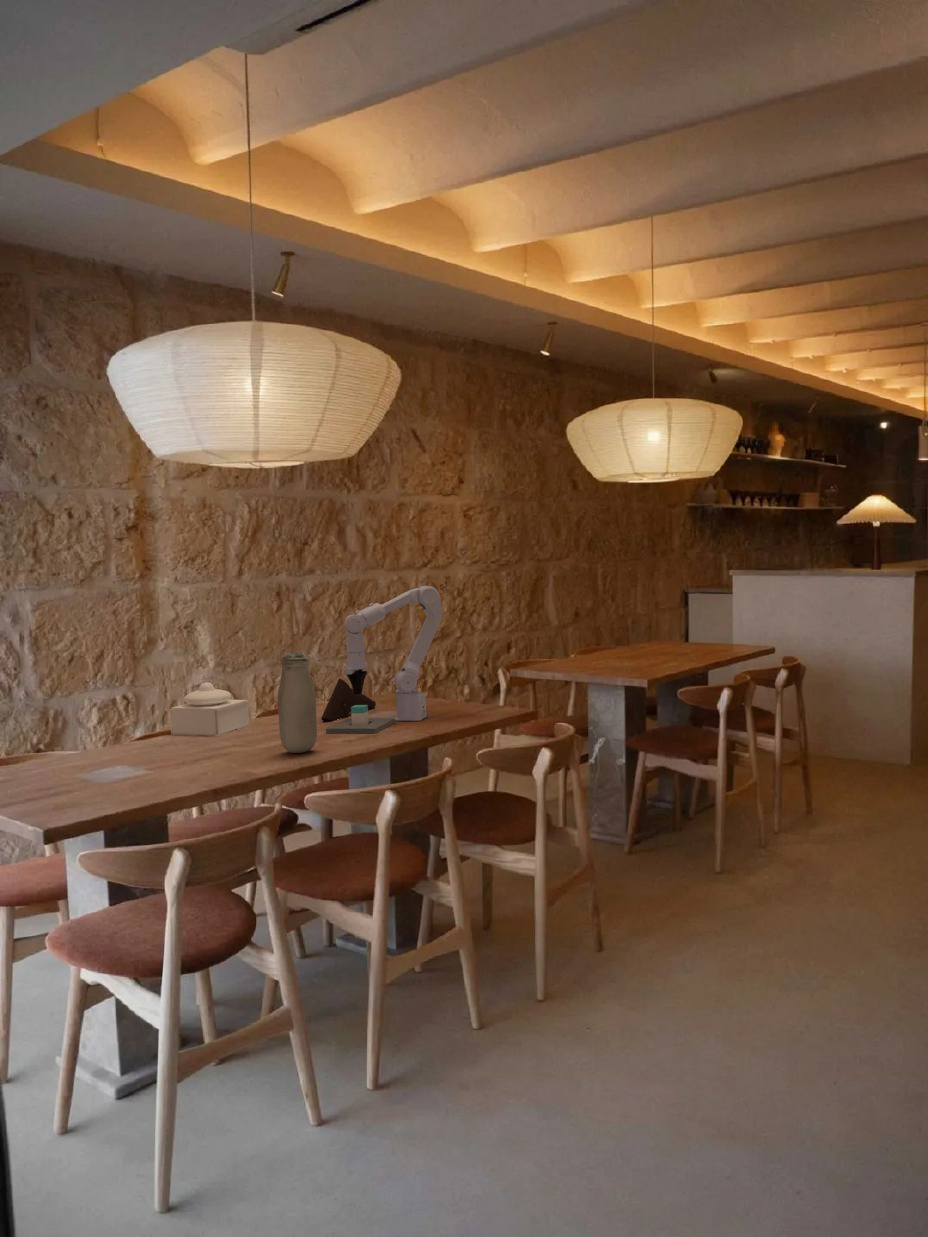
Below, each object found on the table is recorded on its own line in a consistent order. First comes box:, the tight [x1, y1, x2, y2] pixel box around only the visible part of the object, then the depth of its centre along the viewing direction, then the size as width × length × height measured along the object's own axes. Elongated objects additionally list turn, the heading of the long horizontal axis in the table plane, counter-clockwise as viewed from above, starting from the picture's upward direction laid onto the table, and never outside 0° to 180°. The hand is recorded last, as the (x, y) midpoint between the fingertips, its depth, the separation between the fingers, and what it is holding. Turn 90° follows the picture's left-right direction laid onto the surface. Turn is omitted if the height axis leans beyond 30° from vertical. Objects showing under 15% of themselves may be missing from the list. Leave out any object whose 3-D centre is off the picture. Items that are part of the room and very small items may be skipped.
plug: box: [350, 705, 369, 725], centre depth 310 cm, size 4×4×7 cm
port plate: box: [325, 717, 396, 735], centre depth 310 cm, size 16×18×2 cm
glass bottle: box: [277, 651, 318, 754], centre depth 275 cm, size 10×10×28 cm
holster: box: [321, 678, 377, 722], centre depth 337 cm, size 5×16×25 cm
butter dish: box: [169, 682, 250, 737], centre depth 319 cm, size 18×18×16 cm
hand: (358, 694), depth 319 cm, fingers closed
